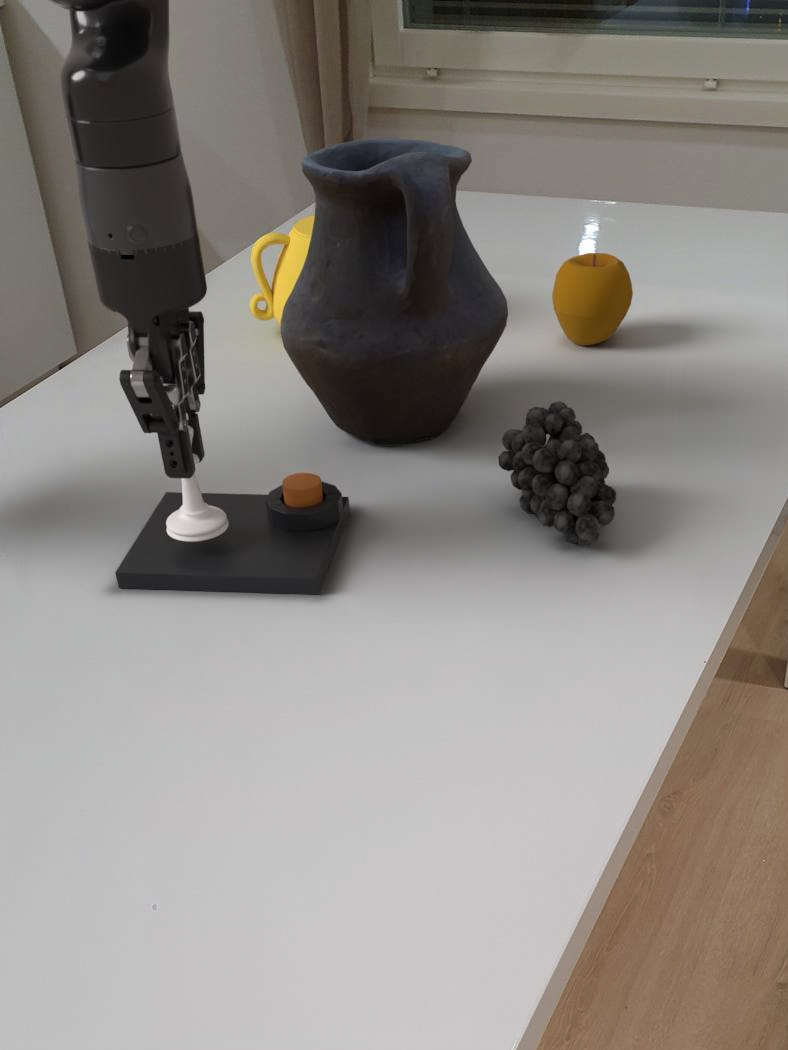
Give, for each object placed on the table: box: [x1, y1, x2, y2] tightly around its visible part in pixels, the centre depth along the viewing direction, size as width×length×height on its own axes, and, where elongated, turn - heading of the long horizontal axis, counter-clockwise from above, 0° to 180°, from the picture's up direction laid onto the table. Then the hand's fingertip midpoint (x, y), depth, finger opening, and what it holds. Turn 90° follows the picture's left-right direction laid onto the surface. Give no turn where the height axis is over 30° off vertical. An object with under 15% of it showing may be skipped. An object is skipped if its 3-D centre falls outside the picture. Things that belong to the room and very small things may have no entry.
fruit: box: [497, 401, 617, 547], centre depth 105 cm, size 9×8×15 cm
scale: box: [114, 480, 351, 595], centre depth 105 cm, size 16×14×3 cm
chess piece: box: [166, 405, 229, 542], centre depth 99 cm, size 5×5×10 cm
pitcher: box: [280, 137, 509, 444], centre depth 115 cm, size 21×22×25 cm
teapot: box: [249, 214, 315, 327], centre depth 141 cm, size 20×19×13 cm
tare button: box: [281, 472, 323, 507], centre depth 105 cm, size 3×3×2 cm
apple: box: [551, 252, 634, 346], centre depth 136 cm, size 8×8×9 cm
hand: (185, 467), depth 99 cm, fingers closed on chess piece
